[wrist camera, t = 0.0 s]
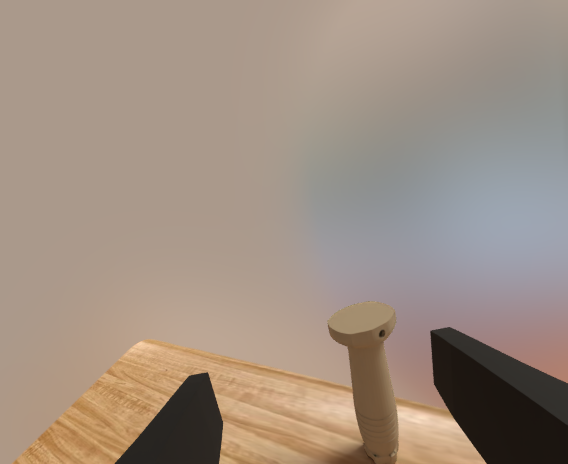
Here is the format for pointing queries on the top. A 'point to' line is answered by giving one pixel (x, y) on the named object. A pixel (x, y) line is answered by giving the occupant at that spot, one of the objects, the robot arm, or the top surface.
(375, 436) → the handle
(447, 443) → the top surface
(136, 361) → the top surface
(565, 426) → the robot arm
